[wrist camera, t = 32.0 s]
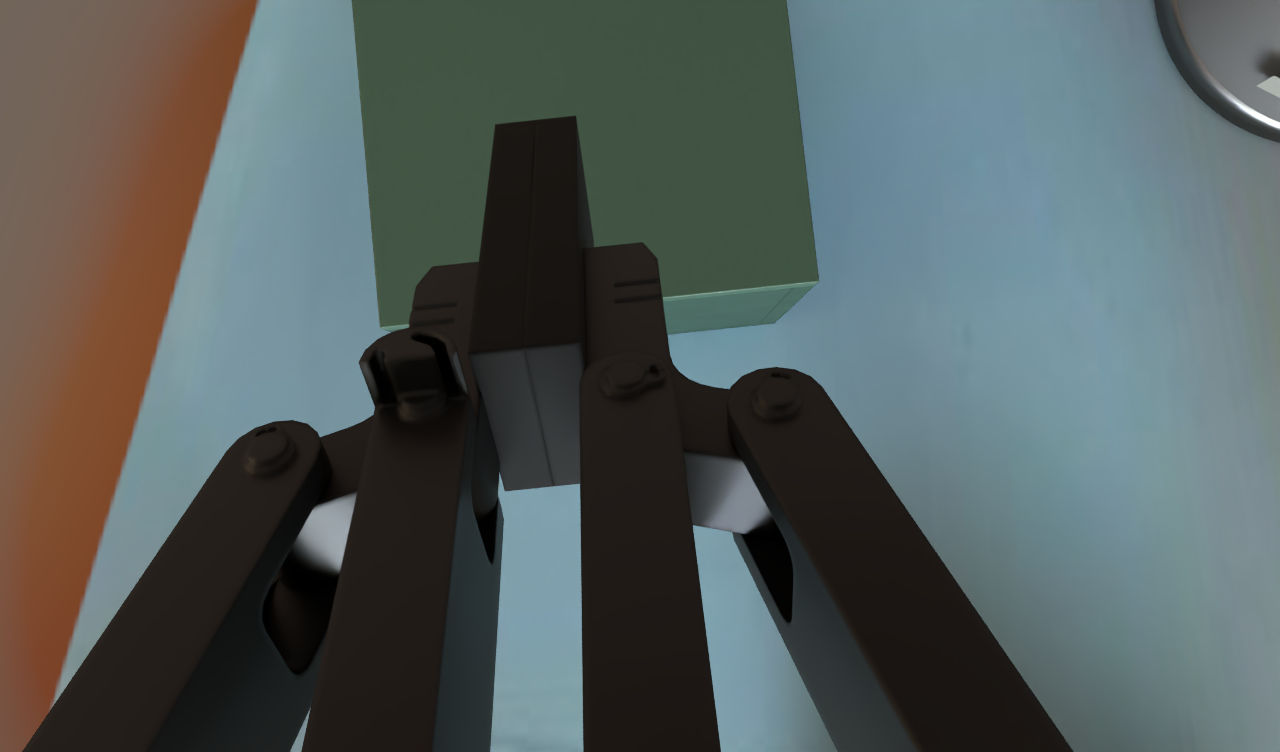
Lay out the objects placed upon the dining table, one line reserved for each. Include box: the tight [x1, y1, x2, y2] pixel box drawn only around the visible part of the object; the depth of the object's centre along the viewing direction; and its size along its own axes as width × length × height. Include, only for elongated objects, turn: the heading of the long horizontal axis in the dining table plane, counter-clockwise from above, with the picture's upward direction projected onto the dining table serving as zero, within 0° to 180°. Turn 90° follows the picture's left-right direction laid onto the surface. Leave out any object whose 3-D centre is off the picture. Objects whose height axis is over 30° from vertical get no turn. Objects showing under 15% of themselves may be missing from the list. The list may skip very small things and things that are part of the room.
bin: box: [387, 286, 814, 335], centre depth 41 cm, size 17×16×12 cm
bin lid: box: [352, 0, 819, 330], centre depth 34 cm, size 17×16×1 cm
